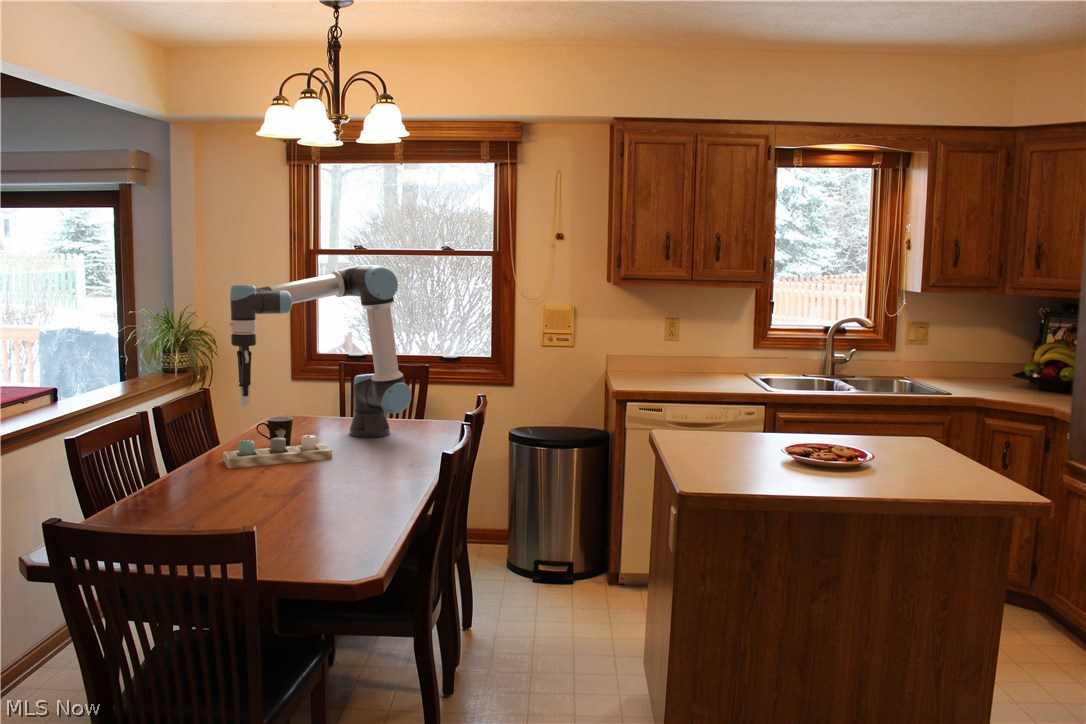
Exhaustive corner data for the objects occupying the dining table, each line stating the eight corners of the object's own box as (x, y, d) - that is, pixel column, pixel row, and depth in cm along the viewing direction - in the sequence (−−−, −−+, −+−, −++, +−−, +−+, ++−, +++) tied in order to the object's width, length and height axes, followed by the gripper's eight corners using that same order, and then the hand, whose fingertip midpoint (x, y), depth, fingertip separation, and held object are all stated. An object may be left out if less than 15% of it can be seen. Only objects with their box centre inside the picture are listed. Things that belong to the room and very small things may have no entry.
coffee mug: (297, 444, 304) (296, 416, 303) (287, 449, 295) (287, 421, 294) (265, 442, 305) (265, 415, 304) (255, 448, 297) (254, 420, 295)
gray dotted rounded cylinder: (284, 450, 284) (284, 436, 284) (287, 453, 280) (286, 439, 279) (269, 451, 282) (269, 437, 281) (272, 454, 278) (271, 440, 277)
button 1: (314, 447, 289) (314, 434, 288) (317, 450, 285) (317, 437, 284) (300, 448, 287) (299, 435, 286) (303, 451, 282) (302, 438, 282)
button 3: (253, 452, 280) (252, 438, 279) (255, 456, 275) (255, 442, 275) (237, 454, 277) (237, 440, 277) (240, 457, 273) (239, 443, 273)
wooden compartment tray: (324, 451, 294) (324, 443, 293) (332, 458, 284) (332, 450, 284) (223, 460, 278) (223, 451, 278) (228, 468, 269) (227, 459, 268)
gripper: (228, 331, 275) (230, 402, 278) (234, 335, 264) (235, 409, 267) (252, 331, 279) (254, 401, 282) (259, 334, 267) (260, 408, 270)
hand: (245, 405), depth 274 cm, fingers closed
